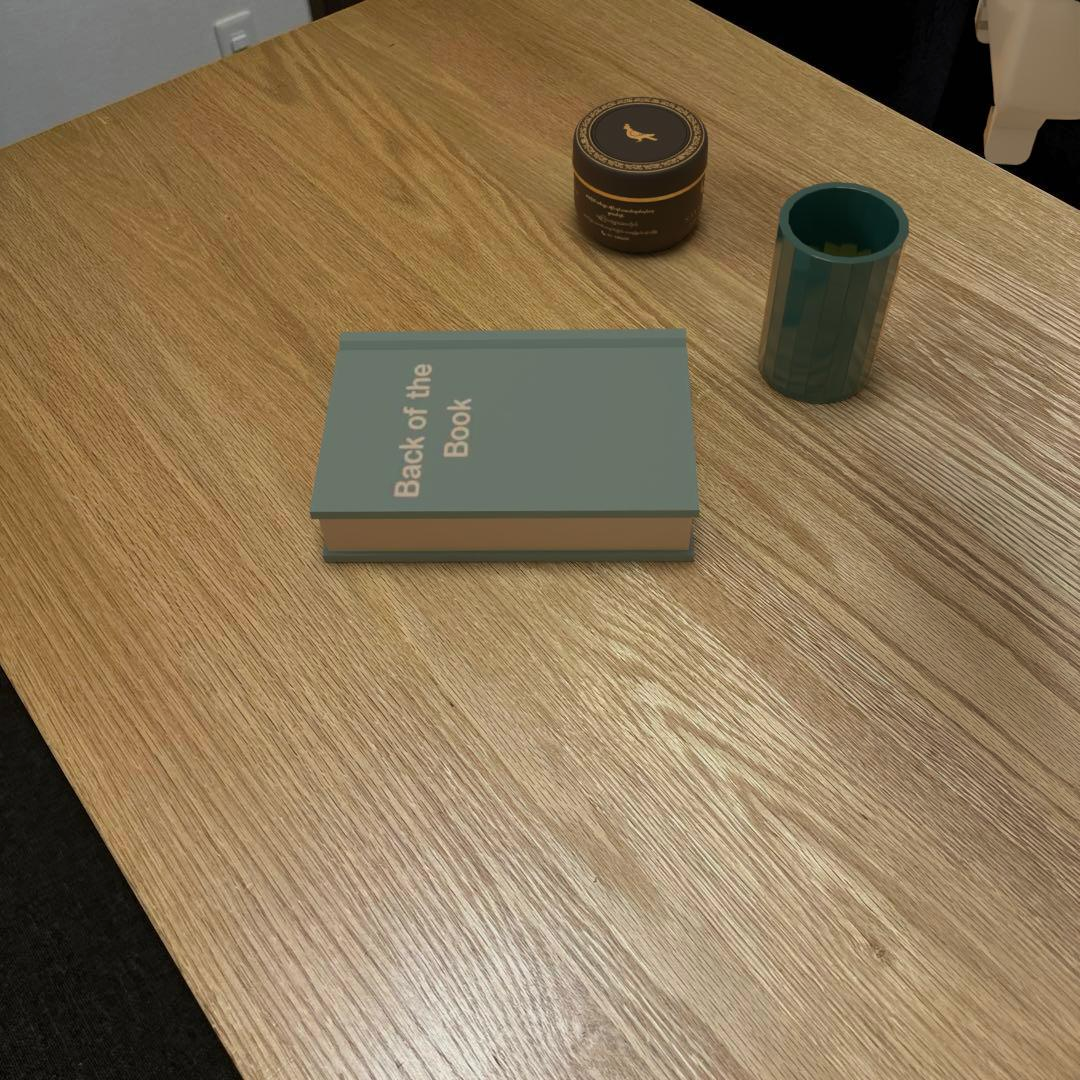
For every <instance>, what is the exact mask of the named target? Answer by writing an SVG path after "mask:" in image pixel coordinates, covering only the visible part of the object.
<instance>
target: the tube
mask: <svg viewBox="0 0 1080 1080" xmlns="http://www.w3.org/2000/svg"><path fill="white" fill-rule="evenodd" d="M909 235H910V221H909V218H908V216H907V214H906V212H905V211H904V208H903V207H902V206H901V205H900V204H899V203H898V202H896V200H895V199H894V198H892V197H891V196H889V195H887V194H885V193H884V192H881V191H880V190H877V189H875V188H874V187H870V186H868V185H867V186H866V185H863V184H859V183H855V182H846V181H845V182H843V181H829V182H821V183H815V184H813V185H809V186H807V187H804V188H801V189H799V190H797V191H795V192H794V193H793V194H792V195H790V196H789V197H788V198H787V199H786V200H785V201H784V203H783V204H782V206H781V208H780V209H779V212H778V219H777V226H776V232H775V238H774V244H773V251H772V258H771V265H770V269H769V277H768V283H767V290H766V296H765V303H764V309H763V317H762V322H761V329H760V336H759V343H758V351H757V366H758V369H759V373H760V375H761V376H762V377H763V379H764V380H765V382H766V383H767V384H768V385H769V386H770V387H771V388H772V389H774V390H775V391H776V392H778V393H780V394H781V395H784V396H785V397H787V398H790V399H792V400H795V401H798V402H803V403H808V404H819V405H820V404H832V403H837V402H841V401H844V400H847V399H850V398H851V397H853V396H855V395H857V394H858V393H860V392H861V390H863V389H864V388H865V387H866V385H867V384H868V382H869V381H870V379H871V376H872V373H873V371H874V367H875V363H876V360H877V356H878V352H879V348H880V345H881V341H882V337H883V334H884V330H885V326H886V321H887V318H888V314H889V311H890V307H891V303H892V299H893V295H894V292H895V289H896V284H897V281H898V277H899V273H900V269H901V265H902V262H903V258H904V254H905V250H906V246H907V244H908V243H907V242H908V239H909Z"/></svg>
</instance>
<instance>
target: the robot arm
mask: <svg viewBox="0 0 1080 1080" xmlns="http://www.w3.org/2000/svg"><path fill="white" fill-rule="evenodd" d="M974 24H975V25H974V29H975V36H976V38H977V41H978V42H980V43H982V44H989V53H990V64H991V77H992V87H993V88H992V89H993V102H994V105H990V110H989V113H988V117H987V121H986V126H985V129H984V132H983V150H984V152H983V153H984V158H985V160H986V161H987V162H988V163H990V164H995V165H996V164H997V165H998V164H999V165H1014V166H1018V165H1021V164H1023V163H1025V162H1027V160H1028V159H1029V158H1030V156H1031V153H1032V150H1033V147H1034V144H1035V141H1036V138H1037V134H1038V131H1039V130H1040V128H1041V127H1042V126H1043V124H1044V123H1045V121H1046V120H1065V121H1067V120H1080V0H978V4H977V8H976V12H975V17H974Z"/></svg>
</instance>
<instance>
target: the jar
mask: <svg viewBox="0 0 1080 1080" xmlns="http://www.w3.org/2000/svg"><path fill="white" fill-rule="evenodd" d="M708 152H709V134H708V130H707V128H706V126H705V124H704V122H703V121H702V119H701V118H700V117H699V116H698V114H696V113H695V112H694V111H692V110H691V109H690V108H688V107H686V106H684V105H683V104H680V103H678V102H676V101H672V100H669V99H665V98H661V97H660V98H659V97H655V96H626V97H621V98H617V99H612V100H608V101H607V102H603V103H601V104H599V105H597V106H595V107H594V108H592V109H590V110H589V111H588V112H587V113H585V114H584V115H583V116H582V118H581V119H580V120H579V121H578V123H577V125H576V127H575V129H574V133H573V139H572V152H571V166H572V170H573V202H574V208H575V212H576V214H577V218H578V220H579V224H580V225H581V227H582V230H583V231H584V232H585V233H586V234H587V235H588V236H589V237H590V238H591V239H592V240H593V241H594V242H596V243H597V244H599V245H600V246H602V247H604V248H606V249H609V250H612V251H615V252H618V253H619V252H620V253H624V254H632V255H644V254H652V253H657V252H661V251H663V250H666V249H669V248H671V247H673V246H675V245H676V244H678V243H679V242H681V241H682V240H684V238H686V237H687V236H689V234H690V233H691V232H692V230H693V229H694V227H695V225H696V222H697V220H698V218H699V216H700V213H701V210H702V206H703V201H704V191H705V181H706V180H705V179H706V171H707V168H708V161H709V160H708V159H709V153H708Z"/></svg>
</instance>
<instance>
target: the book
mask: <svg viewBox="0 0 1080 1080" xmlns="http://www.w3.org/2000/svg"><path fill="white" fill-rule="evenodd" d="M688 352H689V351H688V347H687V329H686V327H685V328H684V327H681V328H680V327H679V328H602V329H601V328H594V329H593V328H591V329H590V328H589V329H588V328H587V329H585V328H583V329H578V328H577V329H496V330H495V329H492V330H490V329H489V330H486V329H485V330H481V329H480V330H479V329H478V330H395V331H393V330H391V331H390V330H389V331H386V330H385V331H383V330H382V331H381V330H380V331H340V333H339V338H338V350H337V351H336V357H335V362H334V367H333V368H334V369H333V373H332V380H331V386H330V391H329V397H328V402H327V403H328V404H327V408H326V414H325V420H324V424H323V425H324V426H323V430H322V435H321V443H320V448H319V454H318V459H317V465H316V470H315V477H314V482H313V488H312V494H311V500H310V504H309V510H308V512H309V516H310V519H311V520H318V521H319V525H320V529H321V532H322V535H323V539H324V544H323V550H322V559H323V563H524V562H526V563H530V562H532V563H533V562H534V563H535V562H536V563H537V562H539V563H540V562H541V563H543V562H544V563H545V562H546V563H547V562H549V563H550V562H552V563H553V562H555V563H557V562H564V563H565V562H571V563H572V562H573V563H575V562H578V563H580V562H581V563H582V562H583V563H584V562H587V563H588V562H589V563H590V562H592V563H593V562H595V563H597V562H598V563H599V562H694V560H695V545H694V530H693V518H694V519H696V518H697V519H698V518H700V513H701V512H700V511H701V509H700V494H699V482H698V471H697V470H698V469H697V458H696V444H695V442H696V441H695V431H694V430H695V429H694V421H693V420H694V418H693V405H692V394H691V393H692V392H691V391H692V390H691V380H690V379H691V378H690V367H689V366H690V365H689V353H688Z"/></svg>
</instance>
